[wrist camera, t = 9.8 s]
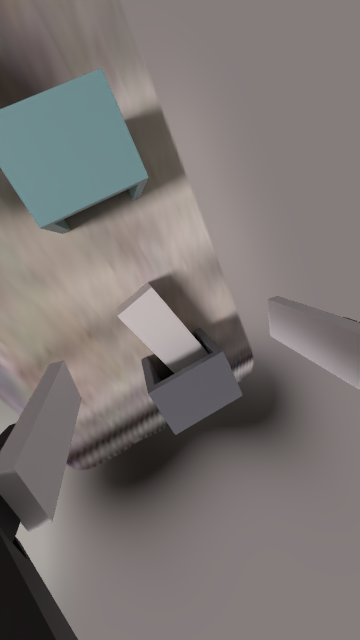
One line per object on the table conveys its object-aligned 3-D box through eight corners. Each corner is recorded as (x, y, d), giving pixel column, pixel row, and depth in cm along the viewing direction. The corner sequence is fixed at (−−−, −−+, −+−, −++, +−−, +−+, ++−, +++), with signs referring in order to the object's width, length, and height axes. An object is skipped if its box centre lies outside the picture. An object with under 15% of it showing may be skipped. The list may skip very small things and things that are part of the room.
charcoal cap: (141, 360, 31) (148, 393, 24) (199, 327, 32) (223, 350, 25) (163, 395, 34) (175, 435, 27) (216, 364, 35) (242, 395, 27)
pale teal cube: (18, 162, 21) (-31, 121, 14) (106, 124, 22) (101, 67, 15) (62, 233, 24) (39, 228, 17) (140, 197, 25) (148, 177, 18)
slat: (117, 307, 28) (117, 316, 25) (147, 282, 29) (151, 287, 25) (174, 366, 33) (181, 380, 29) (200, 344, 33) (210, 356, 30)
